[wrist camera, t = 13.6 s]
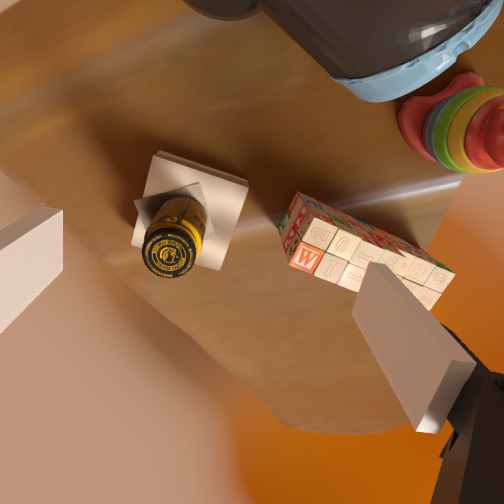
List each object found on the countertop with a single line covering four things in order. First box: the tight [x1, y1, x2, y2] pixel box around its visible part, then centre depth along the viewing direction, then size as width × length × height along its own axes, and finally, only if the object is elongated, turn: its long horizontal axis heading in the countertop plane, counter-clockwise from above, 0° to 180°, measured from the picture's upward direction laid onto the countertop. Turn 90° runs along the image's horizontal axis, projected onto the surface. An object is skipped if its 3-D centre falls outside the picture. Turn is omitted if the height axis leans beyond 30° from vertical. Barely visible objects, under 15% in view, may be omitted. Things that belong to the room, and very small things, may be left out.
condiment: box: [133, 183, 216, 278], centre depth 40 cm, size 7×8×12 cm
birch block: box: [131, 150, 249, 271], centre depth 48 cm, size 12×12×5 cm
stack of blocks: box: [278, 191, 455, 311], centre depth 48 cm, size 21×6×12 cm, turn 65°
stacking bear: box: [398, 71, 504, 173], centre depth 39 cm, size 11×10×18 cm
